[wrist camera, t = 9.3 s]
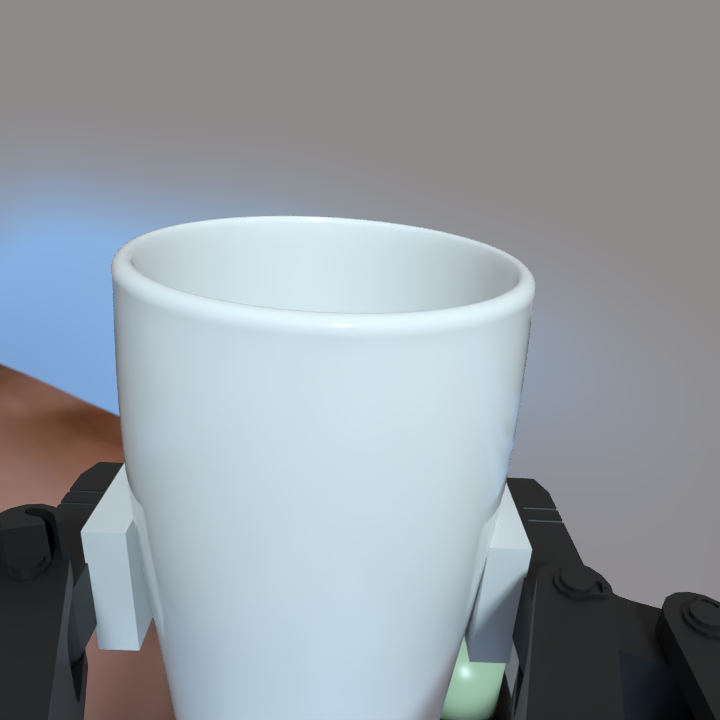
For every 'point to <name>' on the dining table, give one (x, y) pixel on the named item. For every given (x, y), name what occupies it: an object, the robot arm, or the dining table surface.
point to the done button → (473, 689)
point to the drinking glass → (315, 455)
